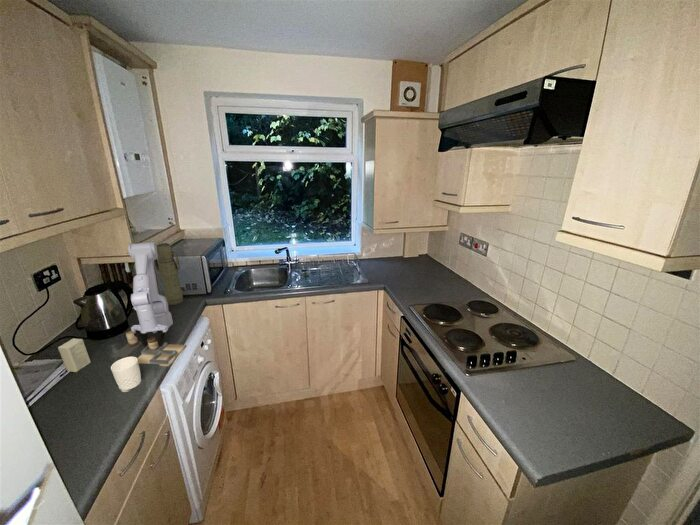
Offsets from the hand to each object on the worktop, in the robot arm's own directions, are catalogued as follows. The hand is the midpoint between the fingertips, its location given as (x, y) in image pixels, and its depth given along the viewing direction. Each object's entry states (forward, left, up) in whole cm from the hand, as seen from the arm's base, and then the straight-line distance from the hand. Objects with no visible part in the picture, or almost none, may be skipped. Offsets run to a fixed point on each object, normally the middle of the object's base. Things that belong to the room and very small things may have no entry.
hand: (153, 345), depth 127 cm
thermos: (-46, -19, -4) cm, 50 cm away
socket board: (+2, +4, -3) cm, 6 cm away
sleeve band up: (0, 0, -2) cm, 2 cm away
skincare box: (+12, -23, -4) cm, 26 cm away
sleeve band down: (-4, -12, -2) cm, 13 cm away
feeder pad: (0, -12, -3) cm, 12 cm away
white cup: (+20, +4, -4) cm, 21 cm away
